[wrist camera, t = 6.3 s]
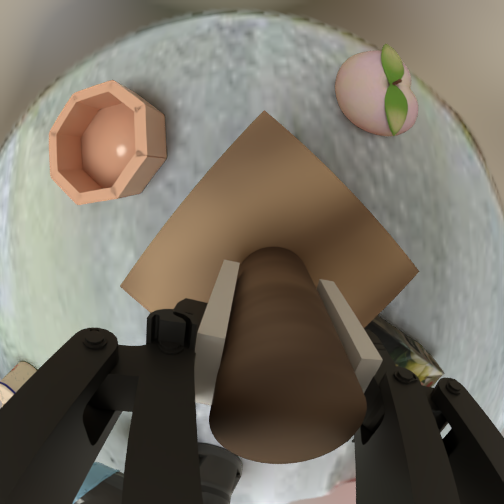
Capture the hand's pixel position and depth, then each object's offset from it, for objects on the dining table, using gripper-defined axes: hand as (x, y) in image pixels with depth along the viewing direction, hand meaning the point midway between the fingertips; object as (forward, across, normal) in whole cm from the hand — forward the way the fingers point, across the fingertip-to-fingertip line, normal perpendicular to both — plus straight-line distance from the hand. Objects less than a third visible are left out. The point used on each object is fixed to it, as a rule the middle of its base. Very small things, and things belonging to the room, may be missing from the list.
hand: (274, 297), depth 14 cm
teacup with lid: (+19, +40, +40) cm, 60 cm away
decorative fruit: (+19, -8, -16) cm, 26 cm away
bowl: (+19, +19, -6) cm, 27 cm away
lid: (+3, 0, 0) cm, 3 cm away
